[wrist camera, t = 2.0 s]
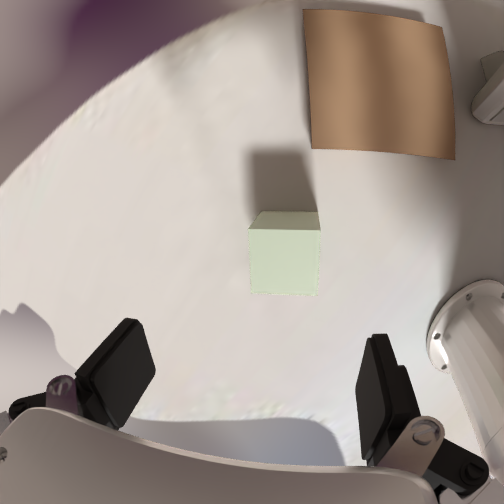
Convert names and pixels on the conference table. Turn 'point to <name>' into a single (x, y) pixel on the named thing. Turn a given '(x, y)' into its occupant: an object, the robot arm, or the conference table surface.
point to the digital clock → (491, 91)
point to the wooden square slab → (378, 84)
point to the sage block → (285, 253)
